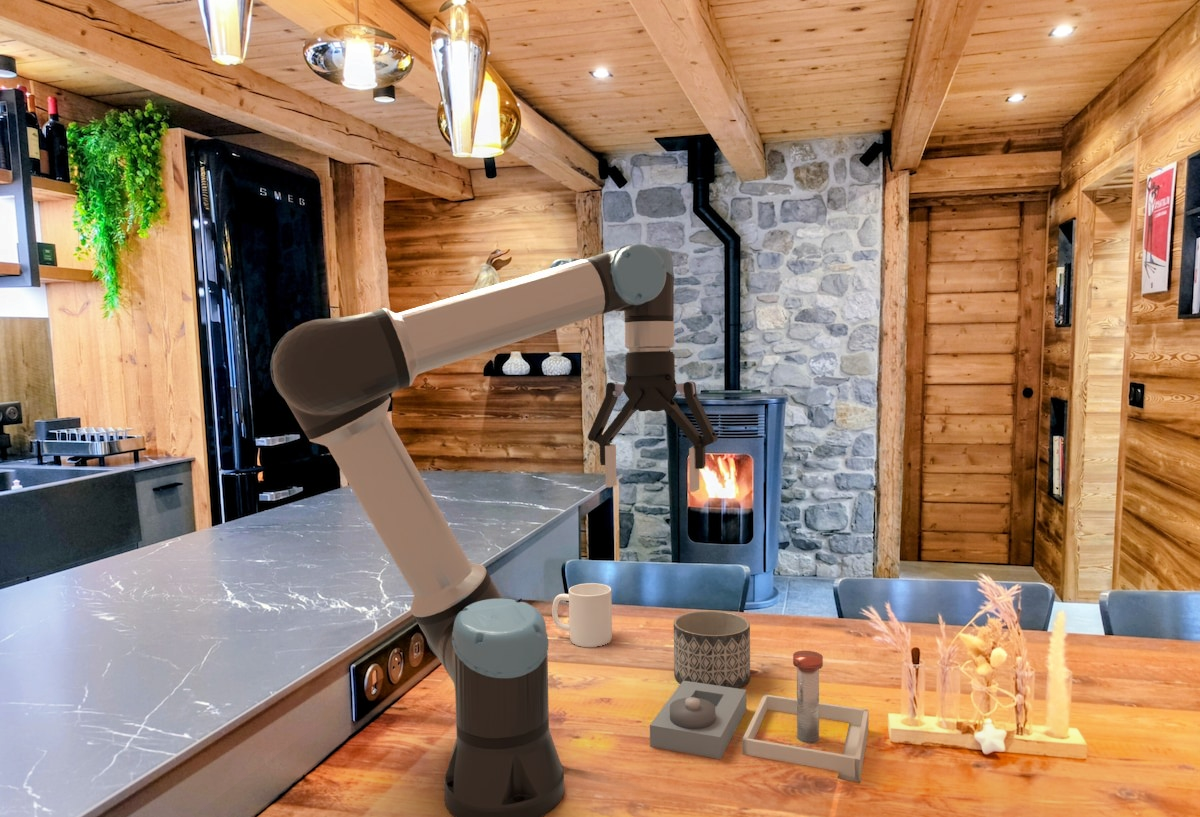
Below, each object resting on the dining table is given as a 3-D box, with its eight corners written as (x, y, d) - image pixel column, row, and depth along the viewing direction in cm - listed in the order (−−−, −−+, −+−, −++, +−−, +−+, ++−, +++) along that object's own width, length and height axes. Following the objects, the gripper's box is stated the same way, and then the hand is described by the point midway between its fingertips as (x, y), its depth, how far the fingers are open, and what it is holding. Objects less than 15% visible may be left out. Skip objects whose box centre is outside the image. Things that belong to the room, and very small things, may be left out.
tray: (859, 782, 101) (859, 759, 101) (742, 760, 107) (742, 739, 106) (868, 729, 115) (868, 709, 115) (764, 713, 121) (764, 694, 120)
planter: (660, 677, 135) (659, 617, 134) (720, 662, 141) (720, 605, 140) (702, 705, 124) (701, 640, 123) (766, 688, 130) (765, 626, 129)
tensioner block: (720, 766, 105) (720, 718, 105) (650, 752, 109) (649, 706, 109) (746, 715, 120) (746, 673, 120) (683, 705, 124) (683, 664, 124)
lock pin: (820, 749, 108) (820, 663, 107) (791, 744, 110) (791, 659, 109) (824, 736, 112) (824, 652, 111) (795, 731, 113) (795, 649, 113)
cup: (606, 649, 148) (605, 596, 148) (546, 644, 151) (544, 593, 151) (616, 634, 156) (615, 584, 156) (559, 630, 159) (557, 581, 159)
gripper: (736, 348, 119) (737, 487, 120) (585, 352, 128) (587, 480, 130) (724, 348, 112) (725, 496, 113) (565, 352, 121) (568, 488, 123)
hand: (652, 488), depth 121 cm, fingers open, 13 cm apart
